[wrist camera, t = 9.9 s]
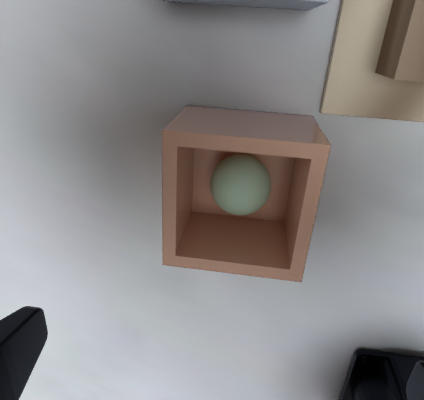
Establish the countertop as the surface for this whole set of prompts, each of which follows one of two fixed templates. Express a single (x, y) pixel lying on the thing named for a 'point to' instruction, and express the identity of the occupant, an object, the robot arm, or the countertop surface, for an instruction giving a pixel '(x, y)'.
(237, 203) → the ball
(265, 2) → the grey open square bin
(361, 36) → the lid
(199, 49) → the countertop surface
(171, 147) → the pot
